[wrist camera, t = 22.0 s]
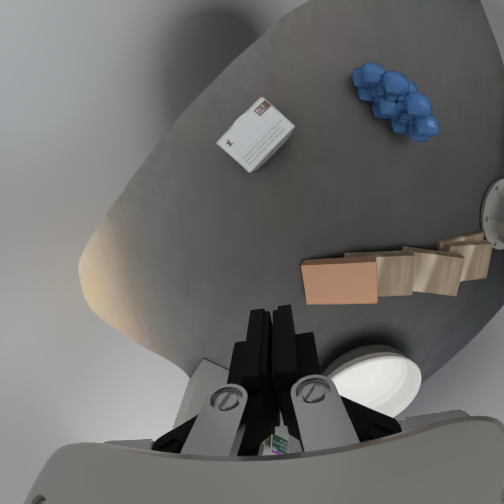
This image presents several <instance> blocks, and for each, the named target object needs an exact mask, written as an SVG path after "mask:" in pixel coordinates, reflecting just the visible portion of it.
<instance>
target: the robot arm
mask: <svg viewBox="0 0 504 504" xmlns="http://www.w3.org/2000/svg"><path fill="white" fill-rule="evenodd" d="M480 221H481V230H482V232H483V233H484V239H485V240H487V241H489V242H490V243H492V244H493V245H492V247H493V248H495V249H497V250H502V249H504V178H500V179H497V180H496V181H494V182H493V183H492V184H491V186H490V187H489V188H488V190H487V192H486V194H485V197H484V199H483V203H482V208H481V218H480ZM280 411H281V415H282V419H283V423H284V426H287V429H288V433H289V434H290V435H292V436H293V437H295V438H296V439H298V440H299V442H300V446H301V451H302V452H300V453H290V454H278V455H262V454H263V450H264V444H265V442H264V441H265V440H266V439H267V438H268V437H270V436H271V435H273V434H275V427H279V426H280ZM24 504H504V424H503V423H502V422H501V421H499V420H498V419H495V418H492V417H487V416H470V415H469V414H467V413H466V412H464V411H461V410H451V411H446V412H440V413H434V414H427V415H420V416H412V417H405V420H400V421H397V420H395V419H394V418H392V417H390V416H387V415H385V414H382V413H380V412H378V411H375V410H373V409H370V408H368V407H366V406H363V405H361V404H359V403H357V402H354V401H352V400H350V399H348V398H345V397H343V396H341V395H339V393H338V390H337V388H336V386H335V384H334V382H333V381H332V380H331V379H330V378H328V377H326V376H323V375H321V373H320V367H319V361H318V355H317V350H316V344H315V339H314V334H313V332H309V333H303V334H295V328H294V322H293V315H292V309H291V304H290V305H283V306H278V310H273V326H272V321H271V316H270V312H269V311H266V312H265V310H264V308H263V309H256V310H251V311H250V317H249V324H248V331H247V337H246V341H242V342H236V343H235V345H234V350H233V355H232V360H231V365H230V369H229V374H228V379H227V384H225V385H221V386H218V387H216V388H215V389H213V390H212V391H211V392H210V393H209V394H208V396H207V397H206V399H205V401H204V404H203V406H202V408H201V410H200V412H199V414H198V415H196V416H194V417H193V418H191V419H190V420H188V421H186V422H185V423H183V424H181V425H180V426H178V427H176V428H175V429H173V430H171V431H170V432H168V433H166V434H165V435H163V436H161V437H160V438H159V439H157V440H156V441H153V440H152V439H143V440H126V441H125V440H124V441H108V442H105V443H75V444H69V445H66V446H62V447H61V448H59V449H57V450H56V451H55V452H54V453H53V454H52V455H51V457H50V458H49V460H48V461H47V462H46V464H45V465H44V467H43V468H42V470H41V472H40V473H39V475H38V477H37V479H36V480H35V483H34V484H33V486H32V488H31V490H30V492H29V494H28V496H27V498H26V500H25V503H24Z"/></svg>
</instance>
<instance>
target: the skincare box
mask: <svg viewBox="0 0 504 504" xmlns="http://www.w3.org/2000/svg"><path fill="white" fill-rule="evenodd" d="M294 128H295V125H294V124H293V123H292V122H290V121H289V120H288V119H287V118H286V117H285V116H284V115H283V114H282V113H280V112H279V111H278V110H277V109H276V108H275V107H274V106H273V105H272V104H270V103H269V102H268V101H267V100H266V99H265V98H264V97H261V98H259V99H258V100H257V101H256V102H255V103H254V104H253V105H252V106H251V107H250V108H249V109H248V110H247V111H246V112H245V113H244V114H243V115H241V116H240V117H239V118H238V119H237V120H236V121H235V122H234V124H233V125H232V126H231V127H230V128H229V130H228V131H227V132H226V133H225V134H224V135H223V136H222V137H221V138H220V139H219V140H218V141H217V145H219V146H220V147H221V148H222V149H223V150H225V151H226V152H227V153H228V154H229V155H230V156H231V157H233V158H234V159H235V160H236V161H237V162H238V163H239V164H240V165H241V166H242V167H243V168H244V169H245V170H246V171H247V172H249V173H251V172H253V171H255V170H257V169H259V168H260V167H261V166H262V165H263V164H264V163H265V162H266V161H267V160H268V159H270V158H271V157H272V156H273V155H274V154H275V153H276V152H277V151H278V150H279V148H280V147H281V146H282V145H283V144H284V143H285V142H286V141H287V140H288V139H289V137H290V135H291V134H292V132H293V129H294Z"/></svg>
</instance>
